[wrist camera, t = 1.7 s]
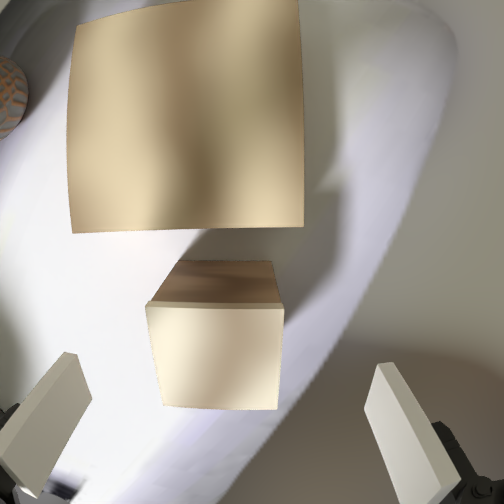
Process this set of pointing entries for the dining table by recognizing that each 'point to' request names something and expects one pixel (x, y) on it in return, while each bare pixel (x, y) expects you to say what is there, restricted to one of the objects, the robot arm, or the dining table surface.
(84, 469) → the dining table surface
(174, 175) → the beech base
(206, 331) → the pale wooden block
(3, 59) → the vase
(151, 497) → the dining table surface
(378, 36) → the dining table surface
